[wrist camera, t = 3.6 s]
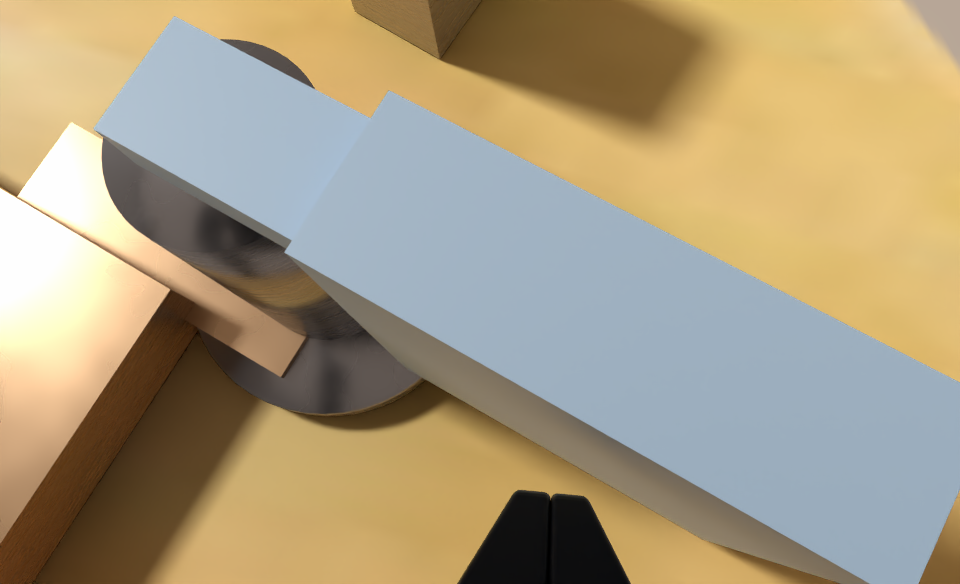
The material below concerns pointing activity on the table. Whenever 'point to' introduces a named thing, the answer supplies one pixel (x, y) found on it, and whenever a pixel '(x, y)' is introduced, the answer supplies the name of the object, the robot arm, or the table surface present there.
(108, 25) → the table surface
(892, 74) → the table surface
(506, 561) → the robot arm
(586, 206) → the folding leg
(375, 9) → the bracket
